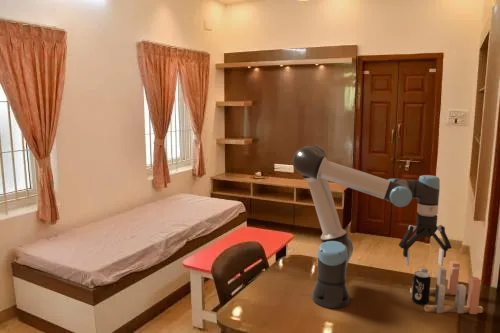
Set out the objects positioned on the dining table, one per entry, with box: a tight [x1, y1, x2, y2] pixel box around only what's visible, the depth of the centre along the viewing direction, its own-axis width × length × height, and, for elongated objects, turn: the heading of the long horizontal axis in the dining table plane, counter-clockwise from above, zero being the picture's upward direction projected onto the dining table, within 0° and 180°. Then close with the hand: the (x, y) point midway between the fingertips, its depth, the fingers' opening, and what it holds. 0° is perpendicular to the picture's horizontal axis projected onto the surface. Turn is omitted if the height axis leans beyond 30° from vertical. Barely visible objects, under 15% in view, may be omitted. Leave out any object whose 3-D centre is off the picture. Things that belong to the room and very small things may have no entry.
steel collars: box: [419, 266, 467, 314], centre depth 161 cm, size 10×18×11 cm, turn 179°
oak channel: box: [409, 287, 484, 314], centre depth 161 cm, size 22×16×2 cm
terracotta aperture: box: [447, 260, 482, 315], centre depth 160 cm, size 3×19×14 cm, turn 179°
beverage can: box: [411, 270, 432, 306], centre depth 161 cm, size 7×7×12 cm
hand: (423, 264), depth 159 cm, fingers open, 13 cm apart
